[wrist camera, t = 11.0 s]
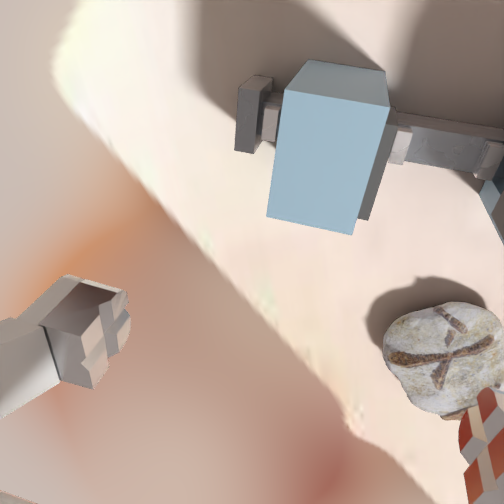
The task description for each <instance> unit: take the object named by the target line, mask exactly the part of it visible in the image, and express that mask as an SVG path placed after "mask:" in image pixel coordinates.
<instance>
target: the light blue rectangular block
mask: <svg viewBox="0 0 504 504" xmlns="http://www.w3.org/2000/svg"><path fill="white" fill-rule="evenodd" d="M479 196H480V198H481V200H482V202H483V204H484V206H485V208H486V210H487V212H488V214H489V216H490V218H491V220H492V222H493V224H494V226H495V228H496V231H497V233H498V235H499V237H500V239H501V241H502V243H503V245H504V179H503V178H498V177H493V179H492V181H488V180H485V183H484V185H483V187H482V189H481V191H480V193H479Z"/></svg>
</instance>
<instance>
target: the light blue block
mask: <svg viewBox="0 0 504 504" xmlns="http://www.w3.org/2000/svg"><path fill="white" fill-rule="evenodd" d="M397 129H398V122H397V116H396V110H395V107H391V106H390V102H389V95H388V88H387V81H386V73H385V71H379V70H372V69H366V68H360V67H354V66H347V65H341V64H335V63H328V62H322V61H316V60H310V59H308V60H307V62H306V63H305V64H304V65H303V67H302V68H301V69H300V70H299V72H298V73H297V74H296V76H295V77H294V78H293V79H292V81H291V82H290V83H289V84H288V86H287V87H286V88H285V90H284V97H283V104H282V110H281V117H280V124H279V131H278V138H277V145H276V152H275V159H274V166H273V173H272V180H271V187H270V194H269V201H268V208H267V215H266V217H270V218H275V219H279V220H284V221H288V222H293V223H298V224H302V225H307V226H311V227H316V228H321V229H325V230H330V231H334V232H339V233H344V234H348V235H352V233H353V230H354V227H355V223H356V220H357V218H358V219H363V220H368V219H369V216H370V213H371V210H372V207H373V204H374V201H375V197H376V194H377V191H378V188H379V185H380V182H381V179H382V176H383V173H384V169H385V166H386V163H387V160H388V157H389V154H390V151H391V148H392V144H393V141H394V138H395V135H396V132H397Z"/></svg>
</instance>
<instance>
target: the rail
mask: <svg viewBox="0 0 504 504" xmlns="http://www.w3.org/2000/svg"><path fill="white" fill-rule="evenodd" d="M272 82H273V78H270V77H264V76H257V75H254V76H252V77H251V78H250V79H249V80H248V81H246V82H245V83H244V84H243V85H241V86H240V87H239V91H238V105H237V119H236V134H235V148H234V150H235V151H240V152H246V153H251V154H254V153H255V151H256V150H257V148H258V147H259V145H260V144H261V142H262V141H263V140H265V141H271V142H275V141H276V139H277V138H278V131H279V124H280V117H281V110H282V104H283V97H284V93H278V92H272ZM396 116H397V122H398V129H397V132H396V135H395V138H394V141H393V144H392V148H391V151H390V154H389V157H388V163H393V164H399V165H403V162H404V161H408V162H413V163H419V164H425V165H430V166H436V167H441V168H447V169H453V170H458V171H464V172H469V173H473V174H474V176H475V178H477V179H482V180H488V181H492V179H493V177H498V178H503V179H504V129H501V128H495V127H489V126H483V125H477V124H470V123H464V122H458V121H452V120H446V119H439V118H433V117H427V116H421V115H414V114H408V113H402V112H396Z"/></svg>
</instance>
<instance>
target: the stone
mask: <svg viewBox="0 0 504 504" xmlns="http://www.w3.org/2000/svg"><path fill="white" fill-rule="evenodd" d="M382 352H383V358H384V361H385V363H386V365H387V367H388V369H389V370H390V371H391V372H392V373H393V374H395V375H396V376H397V377H398V379H399V380H400V382H401V384H402V387H403V389H404V391H405V392H406V393H407V397H408V398H409V400H410V401H411V403H412V404H414V405H415V406H416V407H418V408H420V409H421V410H424V411H426V412H430V413H435V414H438V415H440V417H441V418H442V419H444V420H461V418H462V417H463V415H464V413H465V412H466V410H467V409H468V408H471V407H474V406H477V405H478V401H477V395H478V394H479V393H480V391H481V390H482V389H484V388H486V387H491V388H495V389H499V390H503V391H504V330H503V326H502V324H501V322H500V320H499V319H498V318H497V317H496V316H495V315H494V314H493V313H492V312H491V311H489V310H487V309H485V308H482V307H479V306H476V305H473V304H470V303H466V302H447V303H445V304H442V305H437V306H436V307H430V308H427V309H423V310H420V311H414V312H411V313H408V314H406V315H403V316H401V317H399V318H398V319H396V320H395V321H394V322H393V323H392V324H391V325H390V327H389V328H388V329H387V331H386V333H385V334H384V338H383V350H382Z"/></svg>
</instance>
